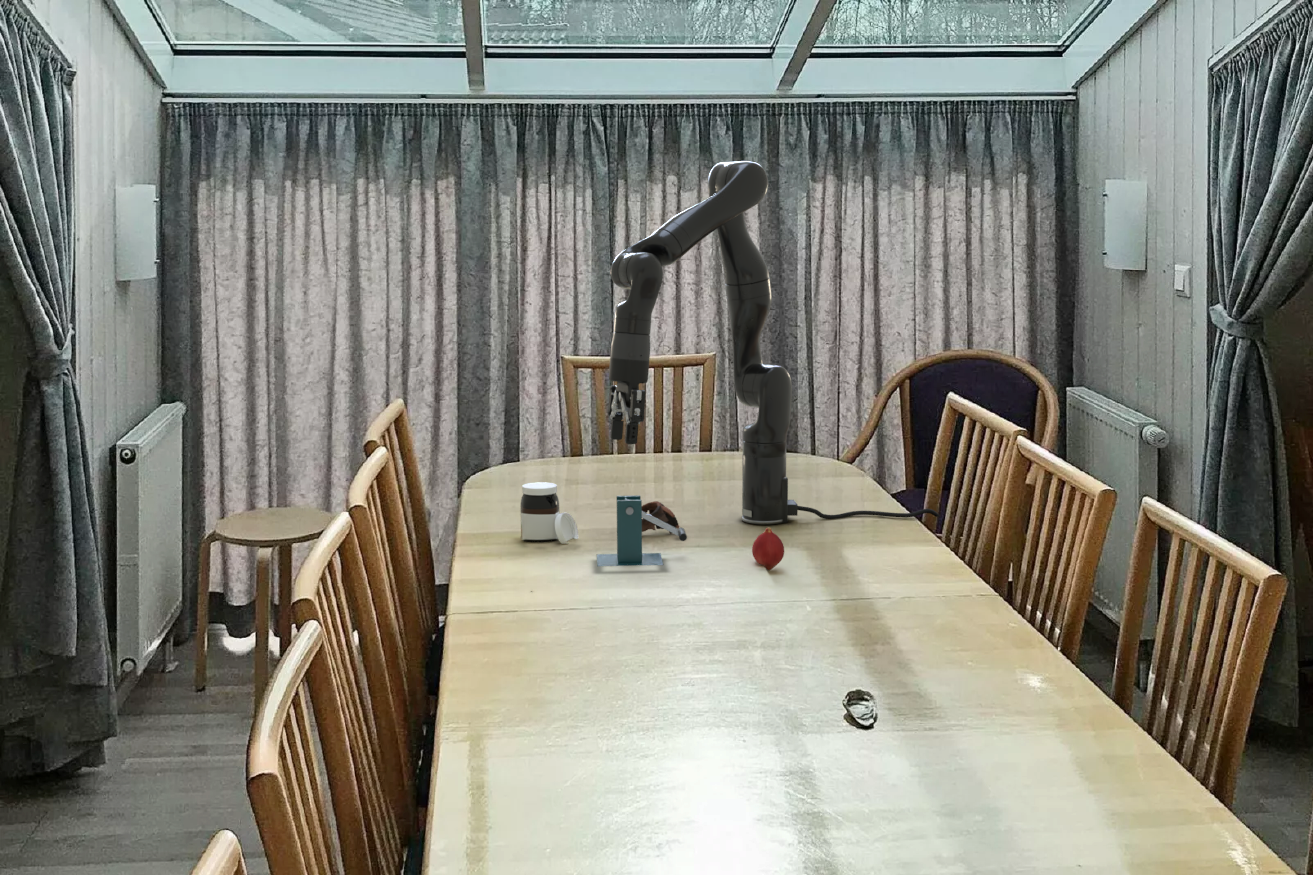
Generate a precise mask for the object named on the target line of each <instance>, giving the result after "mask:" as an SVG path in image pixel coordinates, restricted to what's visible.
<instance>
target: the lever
mask: <svg viewBox="0 0 1313 875" xmlns="http://www.w3.org/2000/svg"><path fill="white" fill-rule="evenodd" d="M624 500H629V499H627V498H625V499H624ZM642 519H645V520H647V521H649V522H651V523H653V524H655V525H657V526H659V527H661V528H663V529H662V530H666V531H667V532H668V533H669V532H671V533H672V534H673V535H676V536H677V537H678V538H679V541H681V542H685V541H686V540H687V539H688V535H687V533H686V530H685V529H684V528H683V527H679V529H677V528H675V527H673V526H671V525H669V524H667V523H665V522H663V521H661V520H659V519H657V518H655V517H653V516H651V515H649V513H648V512H647V513H645V512H643V511H642Z"/></svg>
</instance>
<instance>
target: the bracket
mask: <svg viewBox="0 0 1313 875" xmlns="http://www.w3.org/2000/svg"><path fill="white" fill-rule="evenodd" d="M625 498H627V499H629V500H624V499H625ZM642 501H643V500H642V499H641V495H640V494H639V495H638V494H636V495H616V553H601V554H600V553H597V554H596V566H597V567H628V566H629V567H630V566H631V567H633V566H634V567H637V566H664V560H663V558H662V557H663V556H662V553H661V552H648V553H647V552H646V553H645V552H643V532H642V519H643V518H642V506H643V505H642V503H643V502H642Z"/></svg>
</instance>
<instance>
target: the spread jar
mask: <svg viewBox="0 0 1313 875" xmlns="http://www.w3.org/2000/svg"><path fill="white" fill-rule="evenodd" d="M521 491H522V493H521V494H522V496H521V499H520V510H519V511H520V539H521V540H522V541H523V542H524V543H525V542H526V543H552V542H557V541H559V543H560V544H561V545H569V544H570V543H569V542H568V541H570V540H571V539H575V540H576V539H577V540H579V528H578V525H577V523H576V520H575V518H574V516H572V515H571V513H569V512H567V511H564V512H561V513H560V499H559V496H558V494H557V493H558V484H556V483H554V482H545V481H544V482H543V481H538V482H528V483H524V484H522V485H521Z"/></svg>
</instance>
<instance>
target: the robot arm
mask: <svg viewBox="0 0 1313 875" xmlns="http://www.w3.org/2000/svg"><path fill="white" fill-rule="evenodd" d="M707 178H708V179H707V192H708V197H707V199H704V200H703V201H701V202H699V203H697V204H694V205H693V206H691V207H688V208H687V209H685V210H683V211H681V212H679V213H678V214H675V215H674V216H672V217H671V218H670V219H668V220H667V221H665V223H663V224H662V225H661V226H660V227H659V228H657V229H656V230H655V231H654V232H653V233H651V235H649V236H647V237H645V238H643V239H641V240H639V241H638V242H636V243H634V244H632V245H630V246H628V247H627V248H625V249H623V250H622V251H621V252H620V253H618V255H616V257H615V258H614V260H613V262H612V263H611V266H610V278H611V280H612V282H613V283H614V284H615V285H616V286H617V287H619V288H621V289H624V290H629V294H628V295H627V299H626V300H625V301H622V302H619V303H618V304H617V305H616V307H615V312H614V320H613V334H612V339H611V344H610V354H609V356H610V357H609V367H608V368H609V370H608V380H609V381H610V382H616V385H610V386H609V397H608V407H607V416H609V417H610V421H611V425H610V439H611V440H612V441H613V440H614V441H621V440H622V439H623V435H624V423H625V422H626V423H625V437H624V443H625V444H627V445H636V444H637V443H638V438H639V437H638V436H639V425H641V423H644V422H645V410H646V409H645V407H646V394H647V392H646V390H645V389H640V386H639V385H640V384H641V385H642V384H647V383H648V381H649V369H650V359H651V358H650V357H651V329H652V314H653V312H654V308H655V306H656V302H657V300H658V297H659V293H660V290H661V288H662V284H663V278H664V270H663V267H667V266H671V265H673V264H675V263H677V261H678V260H680V259H681V258H682V257H684V255H686V254H687V253H688V252H689V251H690V250H692V249H693V248H694V247H695V246H696V245H697V244H699V243H700V242H701V241H703V240H704V239H705V238H707V237H708V236H709V235H710V234H711V233H713V232H715V231H716V232H717V238H718V243H719V250H720V256H721V263H722V267H723V276H724V287H725V288H724V289H725V294H726V300H727V307H728V313H729V320H730V322H729V323H730V332H731V341H732V363H733V365H732V366H733V367H732V368H733V384H734V386H733V387H734V392H735V394H736V397H737V399H738V400H739V403H741V404H742V405H743V406H747V407H751V408H756V409H757V408H758V412H757V419H755V421H754V422H753V423H749V424H747V425H745V426H743V428H742V452H741V454H742V460H741V461H742V462H741V463H742V464H741V466H742V467H741V468H742V475H741V476H742V477H741V478H742V479H741V480H742V481H741V482H742V484H741V485H742V487H741V488H742V489H741V491H742V492H741V496H742V498H741V514H742V515H741V521H742V522H744V523H747V524H752V525H764V526H765V525H778V524H783V523H786V524H787V523H788V517H790V516H792V517H793V516H795V517H796V516H798V511H800V512H808V513H811V514H814V515H816V516H818V517H819V518H820V519H826V520H836V519H843V518H848V517H853V516H877V517H888V518H904V519H905V518H915V517H917V516H920V515H923V514H930V515H933V516H934V517H935V518H940V517H941V516H940V514H939V513H938V512H937V511H936V510H934V509H932V508H923V509H919V510H917V511H913V512H890V511H889V512H888V511H880V510H879V511H877V510H854V511H848V512H843V513H838V514H826V513H822V512H821V511H820V510H818V509H816V508H813V507H809V506H803V505H798V503H797V502H796V500H794V499H789V479H788V477H787V438H788V437H787V435H788V431H789V429H790V425H791V416H792V415H791V414H792V401H793V400H792V398H793V383H792V379H791V375H790V373H789V371H788V370H787V369H786V368H785V367H784V366H781V365H776V364H768V363H767V364H766V363H763V362H764V361H763V358H762V350H761V336H762V331H763V329H764V326H765V324H766V321H767V319H768V316H769V313H770V310H771V306H772V302H773V301H772V300H773V297H772V296H773V294H772V288H771V278H770V271H769V268H768V266H767V263H766V261H765V259H764V257H763V255H762V254H761V252H760V250H759V249H758V247H757V246H756V244H755V242H754V241H753V239H752V237H751V235H750V233H749V231H748V228H747V224H746V220H745V215H744V213H745V212H747V211H748V210H751V209H752V208H753V207H756V206H757V205H758V204H759V203H761V202H762V200H764V198H765V196H766V195H767V192H768V188H769V179H768V174H767V172H766V170H765V168H764V167H763V166H762V165H761V164H759V163H757V162H754V161H749V160H741V161H723V162H718V163H716V164H714V166H713V167H712V168H711V170H710V172H709V174H708V177H707ZM624 420H625V422H624Z"/></svg>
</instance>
